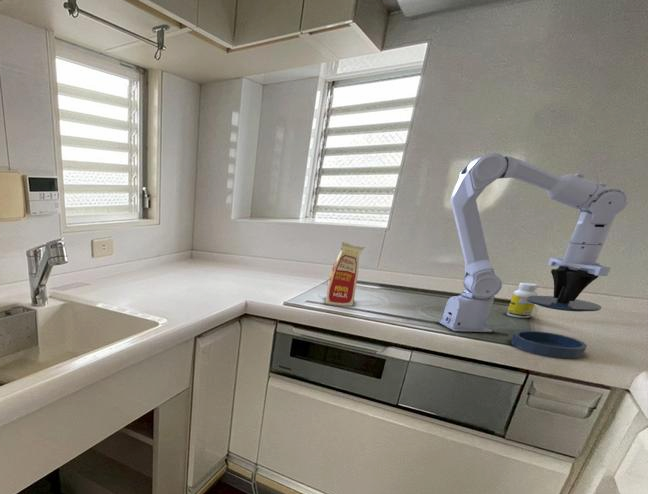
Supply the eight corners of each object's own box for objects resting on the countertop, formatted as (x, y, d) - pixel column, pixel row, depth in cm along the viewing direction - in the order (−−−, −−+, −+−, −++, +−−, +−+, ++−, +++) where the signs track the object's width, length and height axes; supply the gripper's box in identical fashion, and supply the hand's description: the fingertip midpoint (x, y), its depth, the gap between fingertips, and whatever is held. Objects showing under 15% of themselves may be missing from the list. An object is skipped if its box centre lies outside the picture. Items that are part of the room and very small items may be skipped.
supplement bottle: (506, 312, 125) (516, 281, 122) (529, 315, 122) (541, 283, 118) (506, 316, 121) (517, 284, 118) (529, 319, 118) (542, 286, 114)
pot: (536, 357, 92) (540, 347, 91) (499, 338, 103) (502, 330, 102) (598, 359, 90) (603, 349, 89) (553, 340, 102) (557, 331, 101)
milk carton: (326, 304, 136) (336, 243, 128) (325, 297, 144) (334, 239, 136) (355, 306, 133) (368, 244, 125) (353, 299, 141) (364, 240, 133)
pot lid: (552, 312, 96) (560, 292, 94) (512, 299, 109) (519, 280, 107) (616, 314, 94) (626, 293, 92) (568, 300, 107) (576, 281, 105)
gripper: (635, 247, 88) (608, 307, 94) (578, 240, 102) (558, 293, 107) (599, 247, 89) (574, 306, 95) (548, 240, 103) (528, 292, 108)
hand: (563, 299), depth 101 cm, fingers closed on pot lid, 2 cm apart
